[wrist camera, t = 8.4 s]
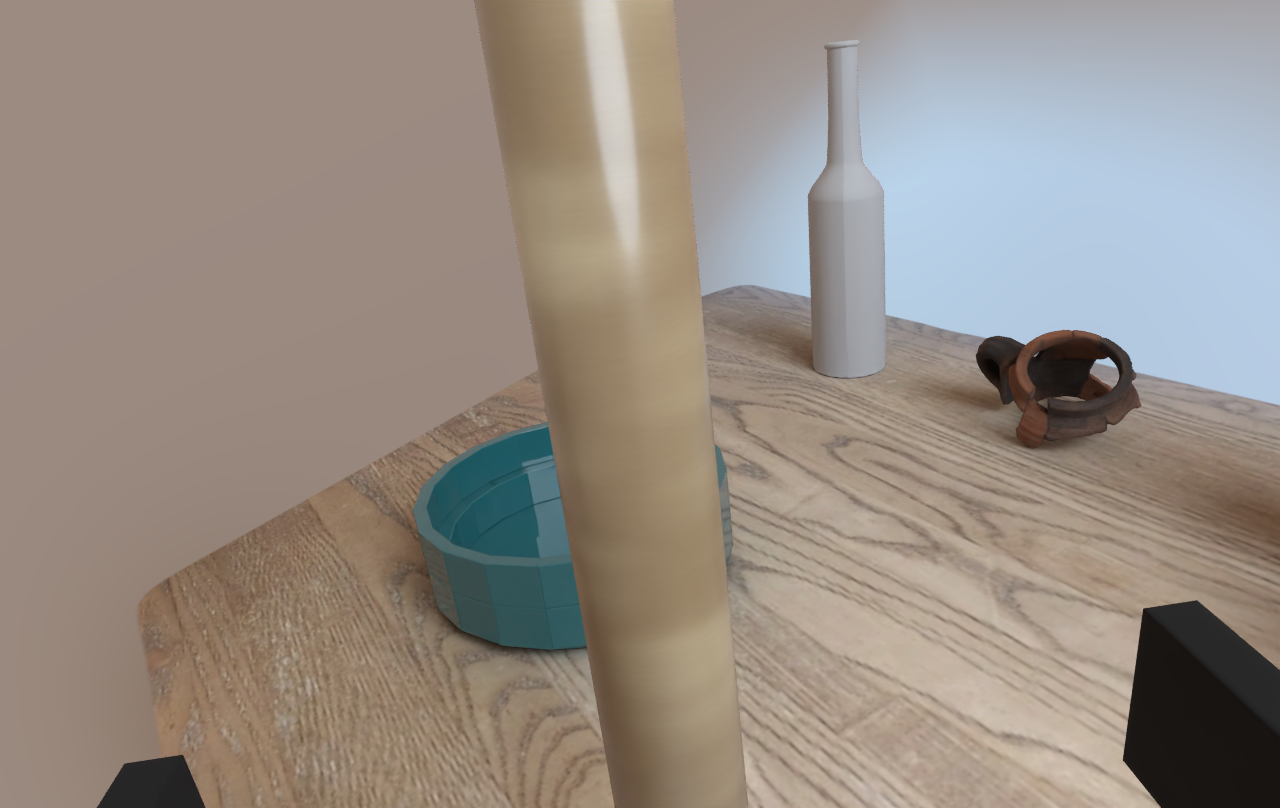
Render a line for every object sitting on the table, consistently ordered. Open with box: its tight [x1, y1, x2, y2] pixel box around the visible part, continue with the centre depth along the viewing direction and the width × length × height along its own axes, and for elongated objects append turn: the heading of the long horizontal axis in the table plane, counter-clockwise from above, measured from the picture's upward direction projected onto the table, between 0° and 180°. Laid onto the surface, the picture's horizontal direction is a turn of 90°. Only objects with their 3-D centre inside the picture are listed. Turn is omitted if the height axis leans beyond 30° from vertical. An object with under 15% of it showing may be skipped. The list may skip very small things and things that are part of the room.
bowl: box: [413, 422, 733, 650], centre depth 52 cm, size 19×19×6 cm
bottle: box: [808, 40, 886, 378], centre depth 73 cm, size 7×7×28 cm
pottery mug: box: [976, 330, 1141, 448], centre depth 62 cm, size 12×10×8 cm
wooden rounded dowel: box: [474, 0, 748, 808], centre depth 13 cm, size 6×6×40 cm
